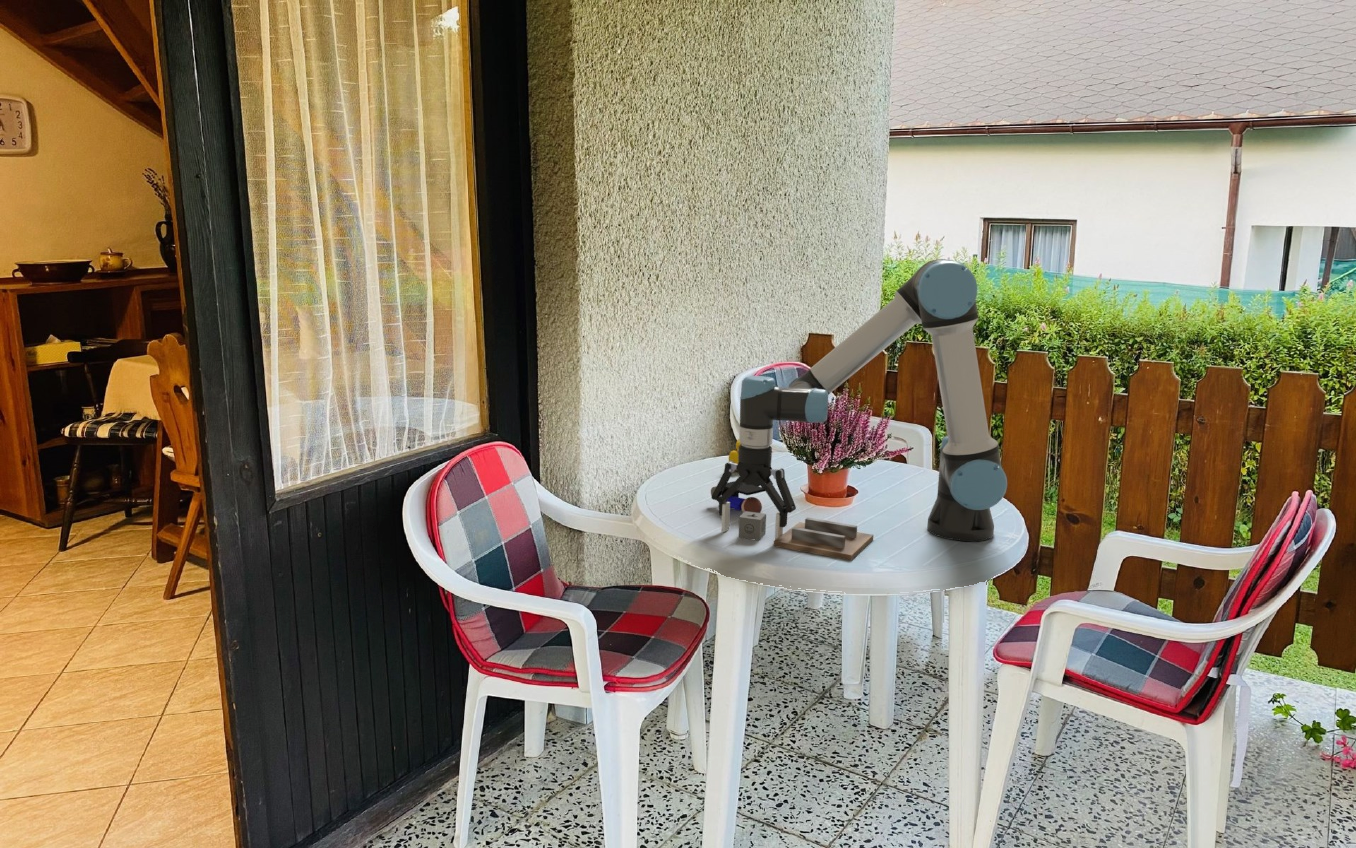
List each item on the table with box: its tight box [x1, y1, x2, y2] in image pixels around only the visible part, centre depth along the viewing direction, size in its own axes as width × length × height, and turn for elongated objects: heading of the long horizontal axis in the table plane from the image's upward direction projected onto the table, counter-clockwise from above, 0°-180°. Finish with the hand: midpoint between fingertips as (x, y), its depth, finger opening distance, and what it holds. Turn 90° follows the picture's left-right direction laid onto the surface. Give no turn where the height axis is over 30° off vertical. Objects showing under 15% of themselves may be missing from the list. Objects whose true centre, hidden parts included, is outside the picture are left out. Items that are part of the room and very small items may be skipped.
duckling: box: [728, 438, 741, 471], centre depth 274 cm, size 11×5×10 cm, turn 139°
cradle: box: [773, 517, 874, 561], centre depth 212 cm, size 18×16×4 cm
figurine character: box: [710, 480, 766, 514], centre depth 234 cm, size 7×8×15 cm
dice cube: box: [738, 511, 767, 541], centre depth 216 cm, size 5×5×5 cm
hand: (751, 535), depth 216 cm, fingers open, 13 cm apart
